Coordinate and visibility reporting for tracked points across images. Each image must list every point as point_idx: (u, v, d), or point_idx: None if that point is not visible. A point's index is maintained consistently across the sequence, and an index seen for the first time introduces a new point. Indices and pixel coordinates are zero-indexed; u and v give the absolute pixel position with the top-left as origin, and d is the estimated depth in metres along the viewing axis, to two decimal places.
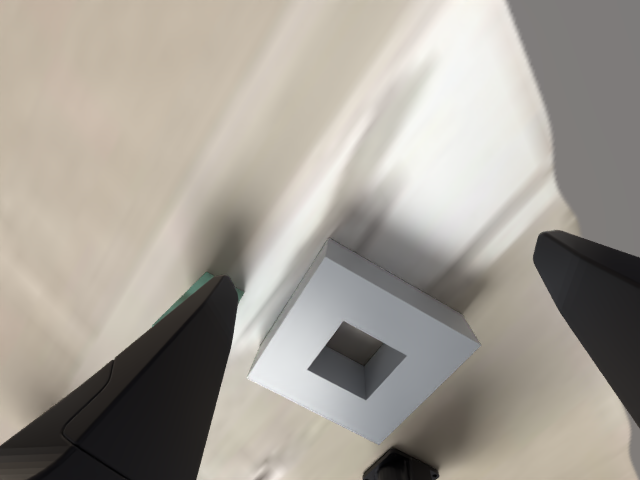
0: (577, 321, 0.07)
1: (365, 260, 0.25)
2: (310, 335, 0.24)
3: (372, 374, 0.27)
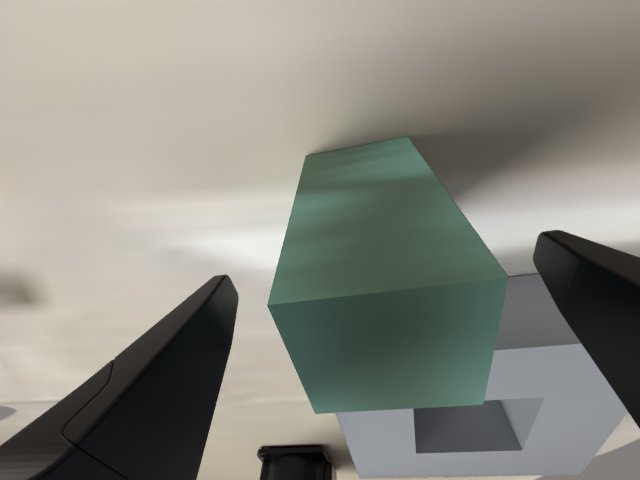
0: (577, 321, 0.07)
1: None
2: None
3: (429, 419, 0.19)
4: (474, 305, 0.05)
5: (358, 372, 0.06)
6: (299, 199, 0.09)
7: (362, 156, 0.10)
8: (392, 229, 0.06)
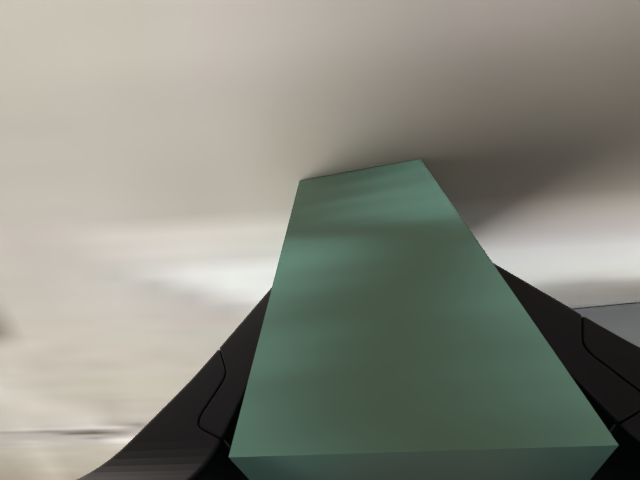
0: None
1: None
2: None
3: None
4: (551, 468, 0.03)
5: None
6: (288, 247, 0.07)
7: (367, 185, 0.09)
8: (413, 314, 0.04)
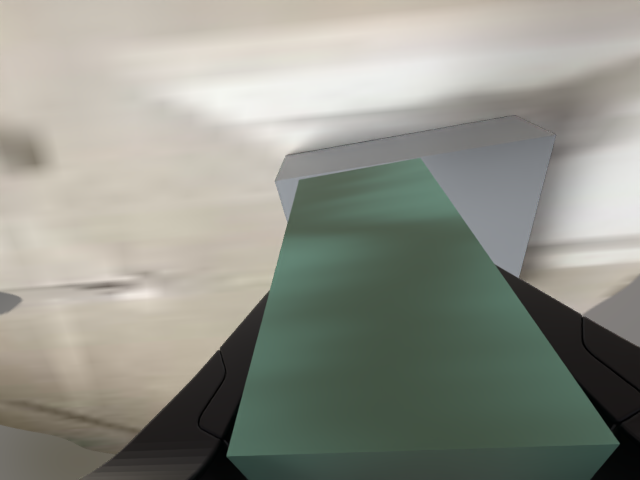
0: None
1: None
2: None
3: None
4: (551, 468, 0.03)
5: None
6: (287, 246, 0.07)
7: (366, 184, 0.09)
8: (413, 312, 0.04)
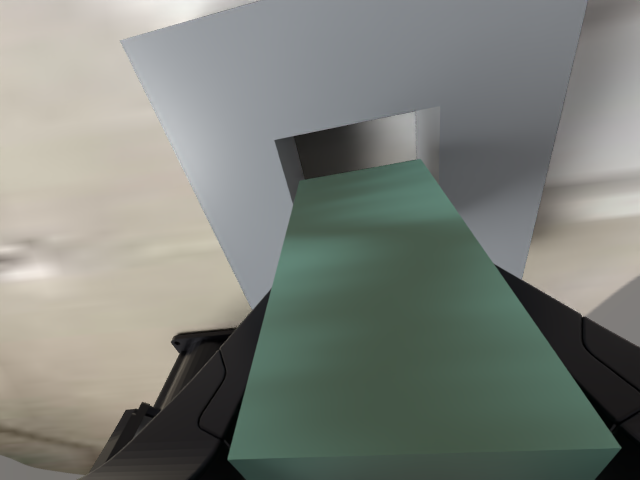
0: None
1: None
2: (357, 75, 0.10)
3: None
4: (552, 471, 0.03)
5: None
6: (288, 248, 0.07)
7: (367, 185, 0.09)
8: (414, 315, 0.04)
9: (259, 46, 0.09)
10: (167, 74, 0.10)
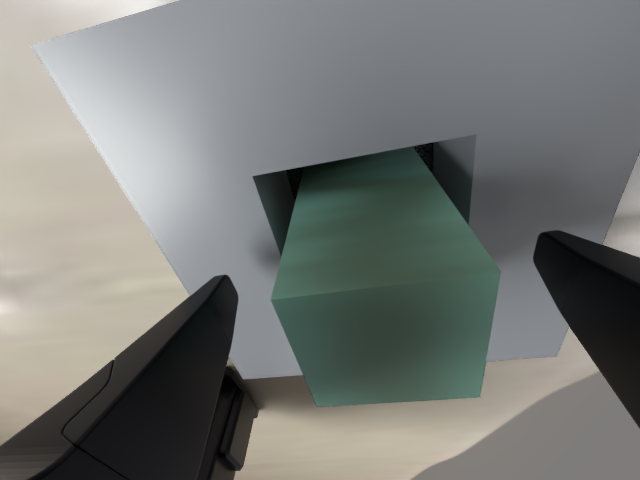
0: (577, 321, 0.07)
1: None
2: (364, 92, 0.07)
3: None
4: (468, 299, 0.05)
5: (357, 365, 0.07)
6: (300, 199, 0.09)
7: (362, 157, 0.11)
8: (391, 227, 0.07)
9: (226, 53, 0.07)
10: (102, 91, 0.07)
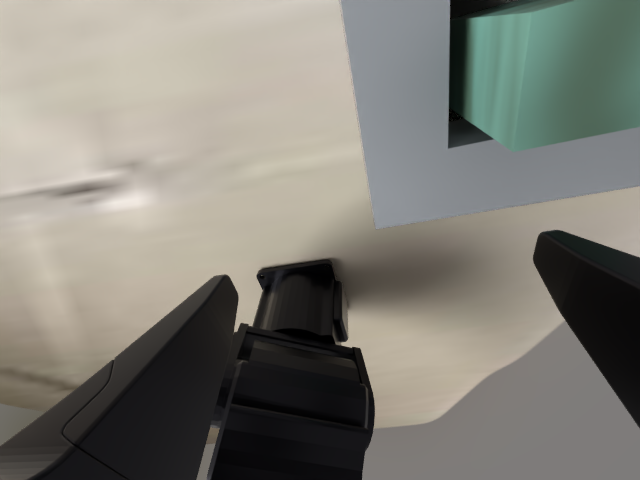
0: (577, 321, 0.07)
1: None
2: None
3: (461, 131, 0.16)
4: None
5: (565, 91, 0.09)
6: (479, 16, 0.11)
7: (505, 5, 0.13)
8: None
9: None
10: None
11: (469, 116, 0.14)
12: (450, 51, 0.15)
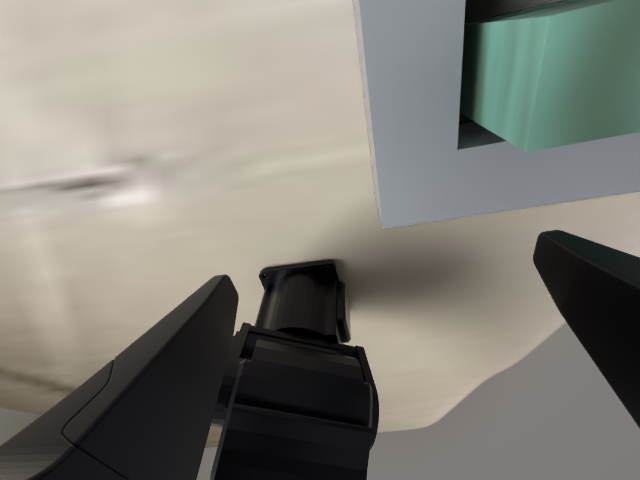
0: (577, 321, 0.07)
1: None
2: None
3: (469, 134, 0.16)
4: None
5: (578, 94, 0.09)
6: (493, 21, 0.12)
7: (515, 12, 0.14)
8: None
9: None
10: None
11: (479, 118, 0.14)
12: None
